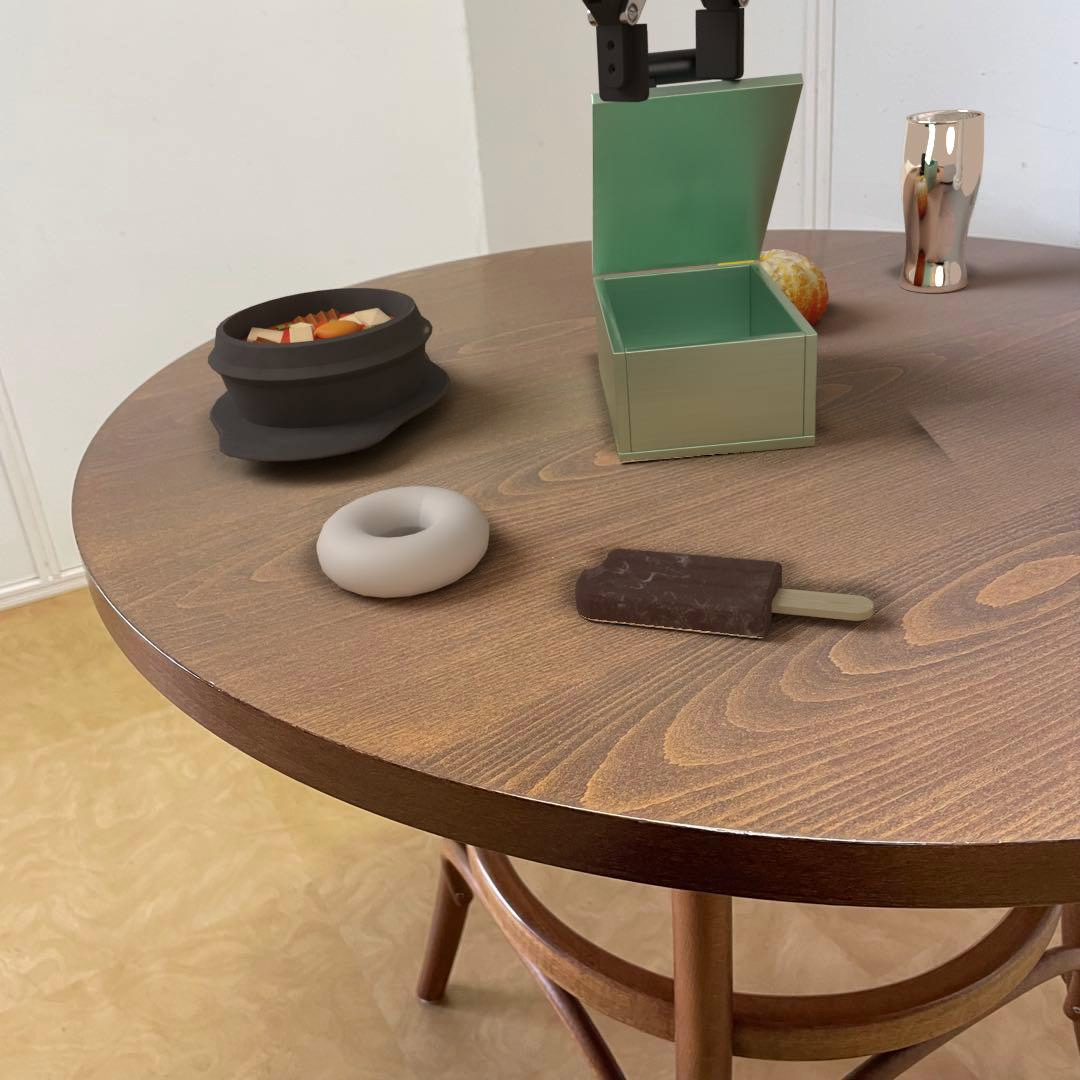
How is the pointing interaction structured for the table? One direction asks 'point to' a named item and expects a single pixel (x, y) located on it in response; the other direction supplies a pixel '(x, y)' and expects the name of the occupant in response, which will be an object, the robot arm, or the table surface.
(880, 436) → the table surface
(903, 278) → the beer glass
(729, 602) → the ice cream bar
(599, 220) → the freezer lid
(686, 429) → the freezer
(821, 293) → the fruit
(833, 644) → the table surface
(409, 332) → the casserole
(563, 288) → the table surface
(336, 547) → the donut
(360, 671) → the table surface
